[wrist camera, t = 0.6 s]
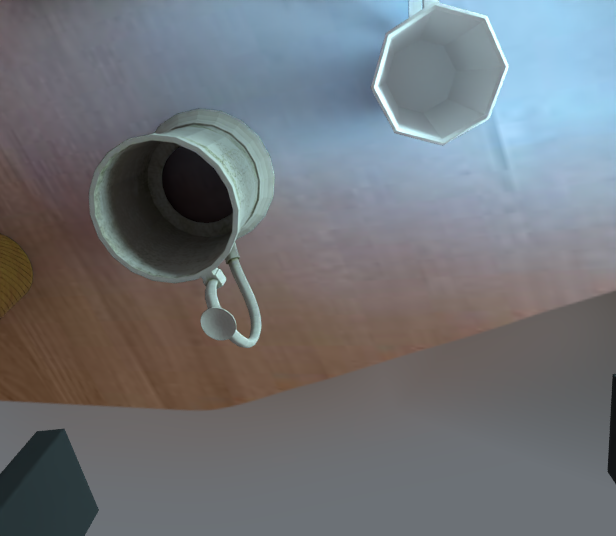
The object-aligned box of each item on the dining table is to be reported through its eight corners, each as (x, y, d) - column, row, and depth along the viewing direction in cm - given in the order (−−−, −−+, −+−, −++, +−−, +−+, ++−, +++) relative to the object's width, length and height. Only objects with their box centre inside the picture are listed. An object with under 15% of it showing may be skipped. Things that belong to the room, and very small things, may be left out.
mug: (116, 153, 36) (14, 188, 25) (226, 82, 34) (168, 85, 23) (224, 310, 40) (177, 399, 29) (329, 255, 38) (322, 330, 27)
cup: (370, 138, 35) (377, 155, 27) (353, -24, 31) (356, -55, 24) (473, 123, 34) (510, 136, 26) (468, -45, 30) (508, -84, 23)
